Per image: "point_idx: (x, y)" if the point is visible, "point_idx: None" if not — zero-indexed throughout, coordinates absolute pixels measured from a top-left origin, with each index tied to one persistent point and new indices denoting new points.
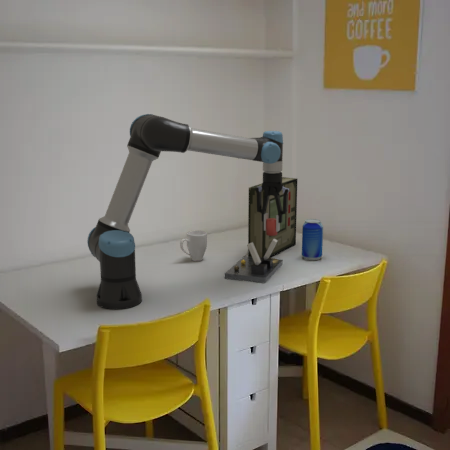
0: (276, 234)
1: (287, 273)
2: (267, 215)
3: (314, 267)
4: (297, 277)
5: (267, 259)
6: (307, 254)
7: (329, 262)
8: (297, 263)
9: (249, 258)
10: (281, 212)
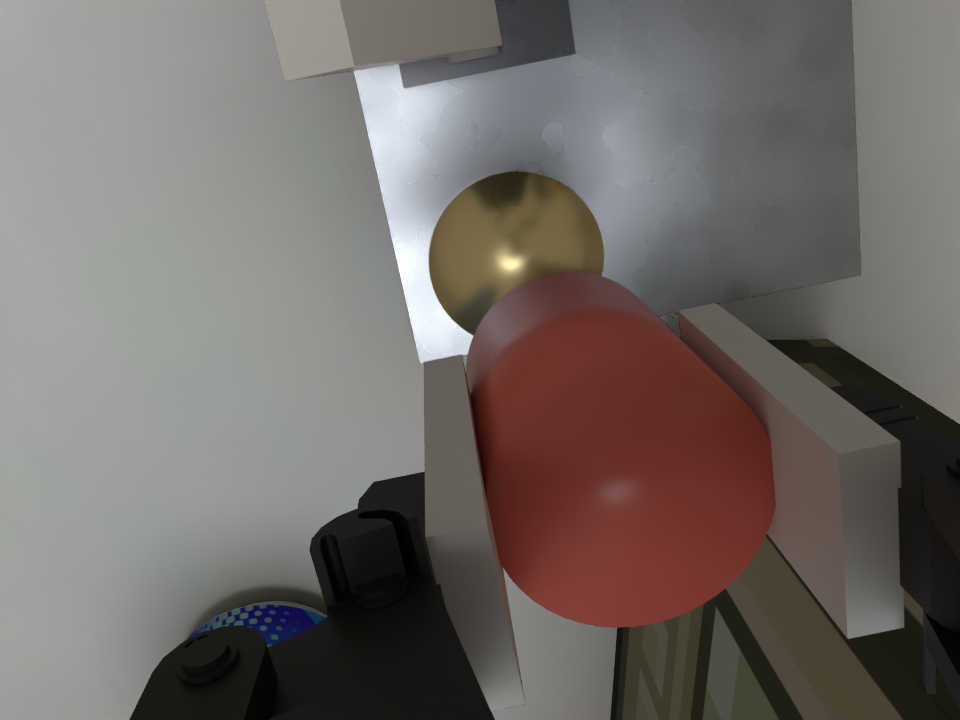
0: (467, 366)
1: (221, 92)
2: (814, 577)
3: (96, 431)
4: (46, 14)
5: None
6: (264, 623)
7: (66, 637)
8: (310, 458)
9: (777, 215)
10: (337, 666)
